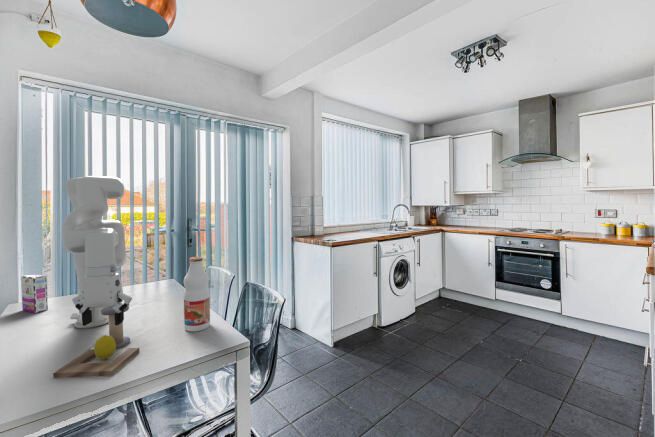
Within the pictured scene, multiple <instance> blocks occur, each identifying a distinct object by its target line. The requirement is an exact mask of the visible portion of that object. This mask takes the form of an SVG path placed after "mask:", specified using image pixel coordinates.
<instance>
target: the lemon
mask: <svg viewBox="0 0 655 437" xmlns="http://www.w3.org/2000/svg"><path fill="white" fill-rule="evenodd" d="M93 349H94V353H95V356H96V357H95V358H97V359H99V360H104V361H107V360H108V359H109V358H110V357H112V356H113V355H114V353H115V352H116V350H117V349H116V343H115V340H114V338H113V337H111V336H109V335H106V334H104V335H102V336H100V337H99V338H98V339H97V340H96V342H95V343H94V345H93Z"/></svg>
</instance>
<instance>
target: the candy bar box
mask: <svg viewBox="0 0 655 437" xmlns="http://www.w3.org/2000/svg"><path fill="white" fill-rule="evenodd" d="M20 281H21V282H20V284H21V286H20V287H21V303H22V311H23V312H29V313H33V314H38V313H42V312H45V311H48V310H49V307H48V285H47V284H48V283H47V275H42V274H34V273H33V274H26V275H21V276H20Z"/></svg>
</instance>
